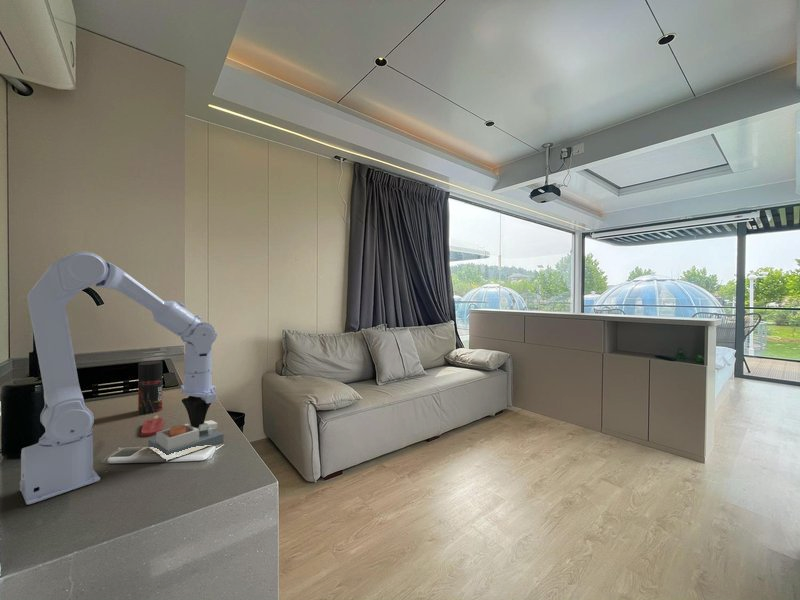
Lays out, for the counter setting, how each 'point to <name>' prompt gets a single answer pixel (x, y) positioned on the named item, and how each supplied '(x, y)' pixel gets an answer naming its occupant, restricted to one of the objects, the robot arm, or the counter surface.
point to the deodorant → (149, 387)
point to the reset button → (177, 430)
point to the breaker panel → (185, 439)
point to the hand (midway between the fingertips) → (197, 426)
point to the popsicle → (152, 426)
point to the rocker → (207, 425)
